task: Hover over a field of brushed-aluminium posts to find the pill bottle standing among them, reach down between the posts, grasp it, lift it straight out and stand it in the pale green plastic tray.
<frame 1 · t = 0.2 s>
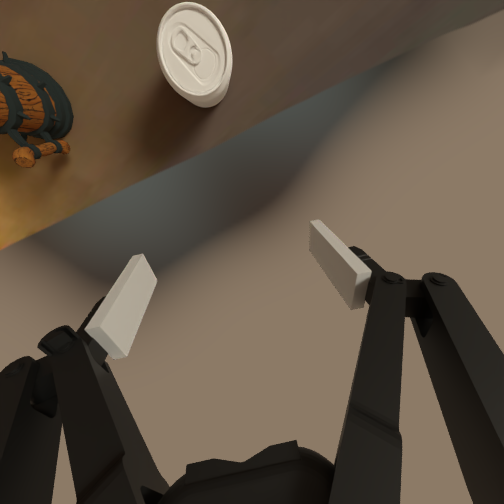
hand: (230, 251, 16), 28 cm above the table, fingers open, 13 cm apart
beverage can: (202, 75, 31), on the table
mug: (45, 113, 31), on the table
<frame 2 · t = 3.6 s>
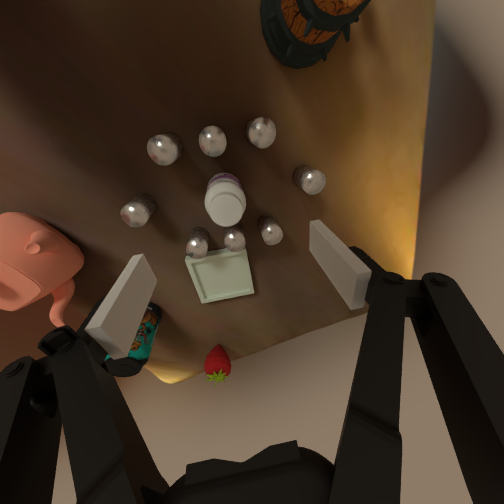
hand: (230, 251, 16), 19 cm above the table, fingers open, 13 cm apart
beverage can 2: (145, 310, 43), on the table
mug: (313, 6, 23), on the table
teapot: (51, 239, 33), on the table
posts: (224, 189, 32), on the table
strawberry: (218, 344, 53), on the table
tray: (222, 273, 40), on the table
pill bottle: (224, 189, 32), on the table
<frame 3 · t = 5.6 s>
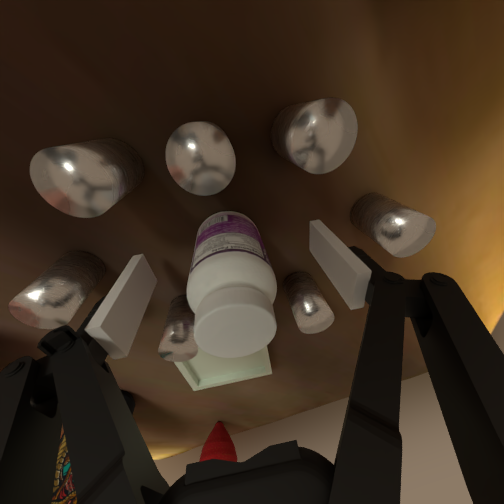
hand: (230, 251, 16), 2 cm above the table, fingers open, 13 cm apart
beverage can 2: (110, 397, 29), on the table
posts: (228, 238, 18), on the table
strawberry: (218, 420, 39), on the table
tray: (224, 349, 26), on the table
pill bottle: (228, 236, 18), on the table
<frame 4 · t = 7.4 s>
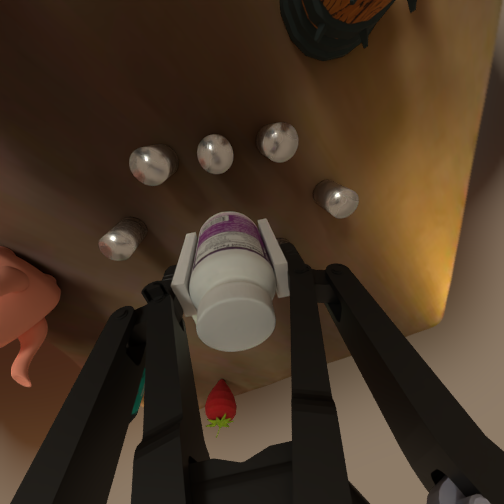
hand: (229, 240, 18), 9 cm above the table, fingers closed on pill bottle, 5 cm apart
teapot: (22, 271, 27), on the table
posts: (230, 210, 26), on the table
strawberry: (221, 379, 46), on the table
pill bottle: (229, 236, 18), point 9 cm above the table, touching gripper
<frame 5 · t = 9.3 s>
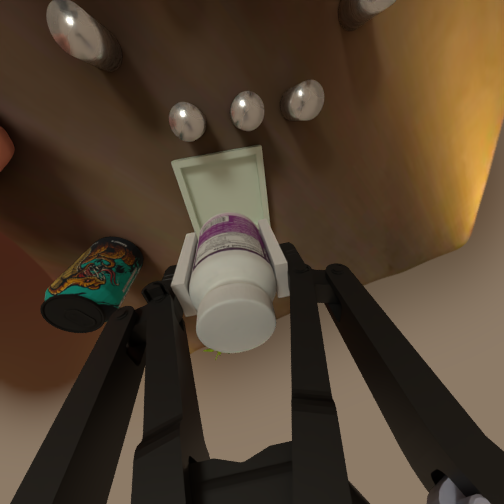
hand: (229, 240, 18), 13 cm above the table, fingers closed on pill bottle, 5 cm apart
beverage can 2: (120, 253, 32), on the table
posts: (230, 28, 20), on the table
tray: (226, 194, 29), on the table
pill bottle: (229, 237, 18), point 13 cm above the table, touching gripper
when the fingers open (2 cm above the table, at t = 11.4 s): pill bottle stays where it is, resting on tray.
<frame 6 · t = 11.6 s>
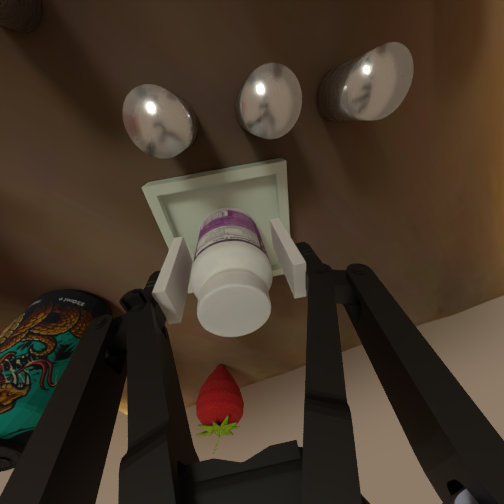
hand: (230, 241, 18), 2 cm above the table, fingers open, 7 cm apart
beverage can 2: (80, 307, 23), on the table
strawberry: (220, 364, 32), on the table
tray: (229, 229, 20), on the table
pill bottle: (229, 231, 19), point 1 cm above the table, touching tray
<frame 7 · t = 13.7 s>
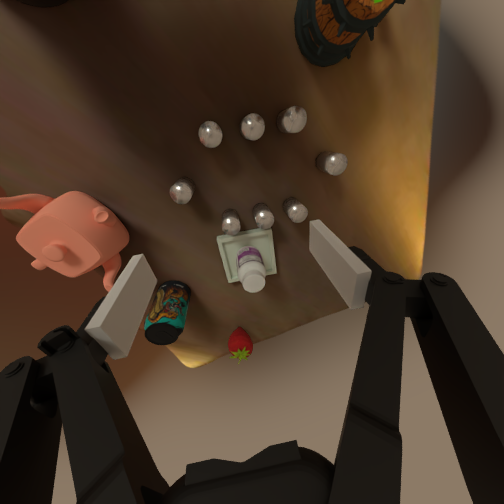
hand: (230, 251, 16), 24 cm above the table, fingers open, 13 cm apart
beverage can 2: (175, 290, 47), on the table
mug: (338, 15, 27), on the table
teapot: (101, 219, 37), on the table
posts: (255, 173, 36), on the table
strawberry: (239, 327, 56), on the table
tray: (247, 253, 44), on the table
pill bottle: (248, 255, 44), point 1 cm above the table, touching tray
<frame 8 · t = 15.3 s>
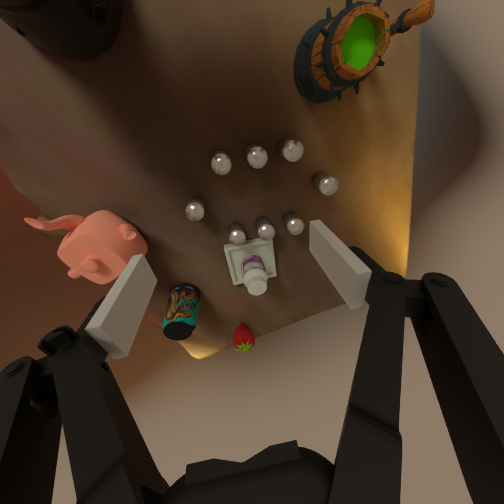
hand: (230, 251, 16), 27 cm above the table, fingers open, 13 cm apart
beverage can 2: (186, 291, 53), on the table
mug: (331, 60, 32), on the table
teapot: (122, 231, 42), on the table
posts: (258, 191, 41), on the table
strawberry: (242, 323, 62), on the table
tray: (251, 259, 50), on the table
pill bottle: (251, 260, 49), point 1 cm above the table, touching tray
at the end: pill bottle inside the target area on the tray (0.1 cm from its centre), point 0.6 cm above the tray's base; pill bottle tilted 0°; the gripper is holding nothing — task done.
